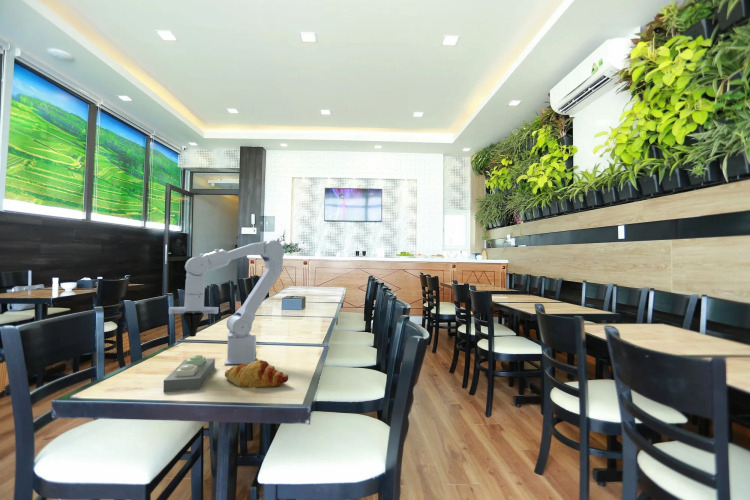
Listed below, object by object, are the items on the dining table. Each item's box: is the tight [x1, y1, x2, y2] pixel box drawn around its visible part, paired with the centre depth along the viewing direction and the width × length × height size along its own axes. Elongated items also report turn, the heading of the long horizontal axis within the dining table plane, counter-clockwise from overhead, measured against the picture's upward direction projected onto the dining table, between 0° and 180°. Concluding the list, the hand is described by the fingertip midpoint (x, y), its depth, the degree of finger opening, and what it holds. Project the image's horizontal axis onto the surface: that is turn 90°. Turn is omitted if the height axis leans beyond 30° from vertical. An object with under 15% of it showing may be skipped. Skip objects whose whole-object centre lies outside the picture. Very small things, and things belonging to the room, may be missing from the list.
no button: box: [176, 364, 198, 377], centre depth 103 cm, size 4×4×4 cm
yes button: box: [186, 354, 206, 366], centre depth 113 cm, size 4×4×4 cm
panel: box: [163, 357, 216, 393], centre depth 108 cm, size 9×20×3 cm, turn 13°
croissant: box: [224, 359, 289, 388], centre depth 105 cm, size 21×10×8 cm, turn 74°
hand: (192, 336), depth 118 cm, fingers closed
